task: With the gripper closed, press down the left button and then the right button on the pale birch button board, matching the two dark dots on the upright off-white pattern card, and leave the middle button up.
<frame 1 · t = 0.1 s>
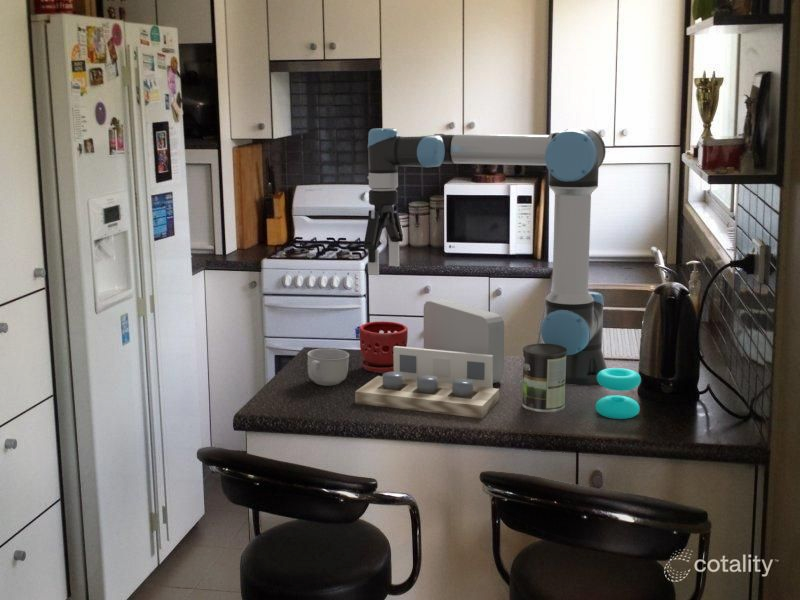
hand: (384, 270, 253), 28 cm above the worktop, fingers open, 13 cm apart
button 2: (462, 388, 230), point 5 cm above the worktop, slide at 0.0 cm
pattern card: (442, 389, 244), on the worktop
rounded white slab: (461, 373, 259), on the worktop
plant pot: (383, 369, 263), on the worktop
coffee can: (543, 406, 231), on the worktop
teacup: (325, 384, 250), on the worktop
button board: (427, 401, 234), on the worktop
donuts: (617, 414, 225), on the worktop
button centre: (427, 384, 233), point 5 cm above the worktop, slide at 0.0 cm
button 1: (392, 380, 237), point 4 cm above the worktop, slide at 0.0 cm
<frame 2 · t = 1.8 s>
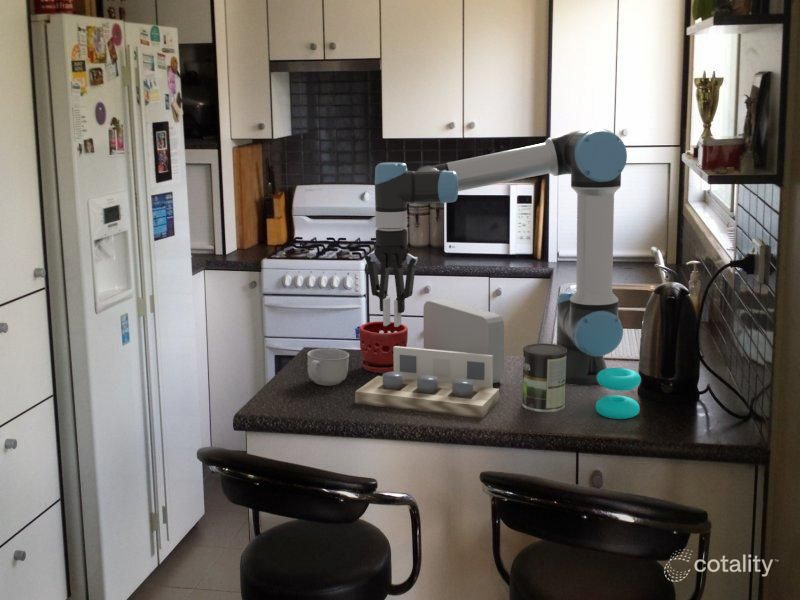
hand: (392, 324, 234), 18 cm above the worktop, fingers open, 2 cm apart
nothing on the worktop moved.
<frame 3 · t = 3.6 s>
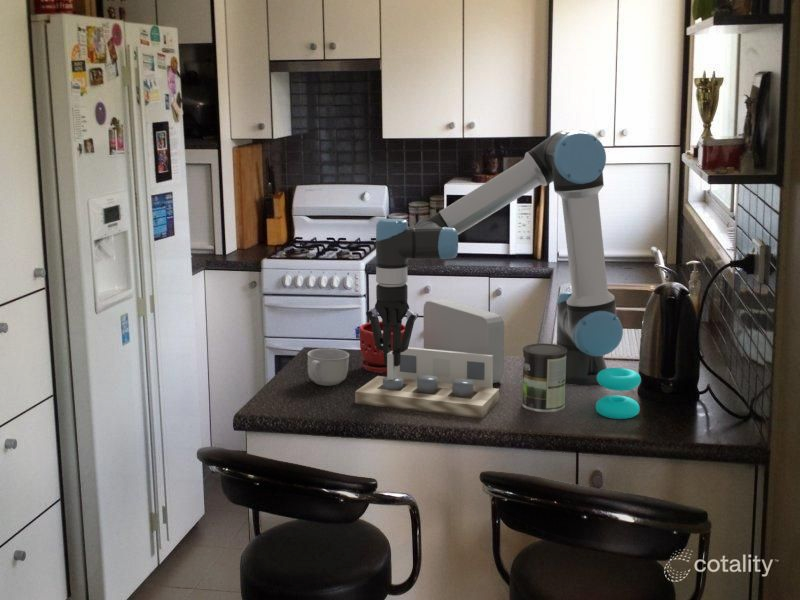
hand: (392, 378, 236), 5 cm above the worktop, fingers closed
button 1: (392, 385, 237), point 3 cm above the worktop, slide at 1.2 cm, touching gripper
everything else where it was.
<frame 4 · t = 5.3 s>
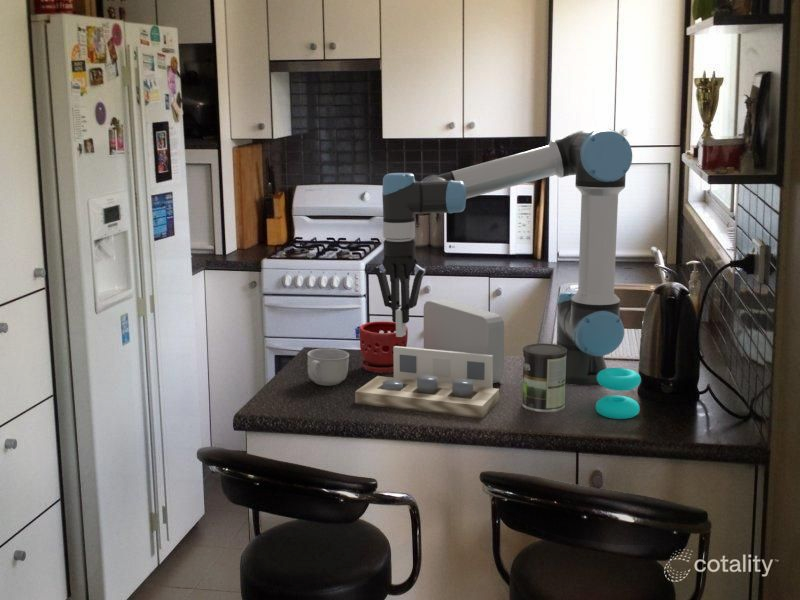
hand: (400, 335, 233), 16 cm above the worktop, fingers closed
button 1: (392, 388, 237), point 2 cm above the worktop, slide at 2.1 cm
everything else where it was.
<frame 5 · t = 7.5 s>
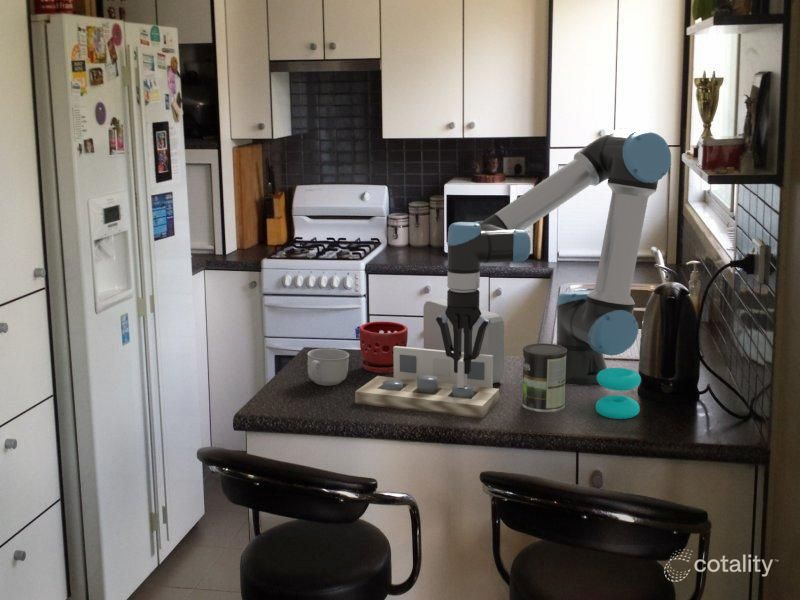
hand: (462, 386, 230), 5 cm above the worktop, fingers closed
button 2: (462, 393, 230), point 3 cm above the worktop, slide at 1.3 cm, touching gripper
everything else where it was.
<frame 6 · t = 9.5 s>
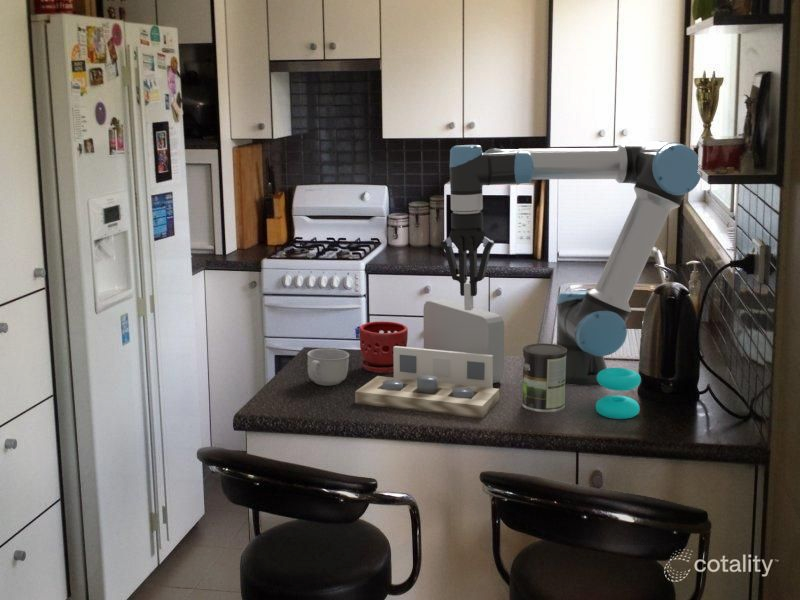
hand: (469, 308, 233), 22 cm above the worktop, fingers closed
button 2: (462, 396, 230), point 2 cm above the worktop, slide at 2.1 cm
everything else where it was.
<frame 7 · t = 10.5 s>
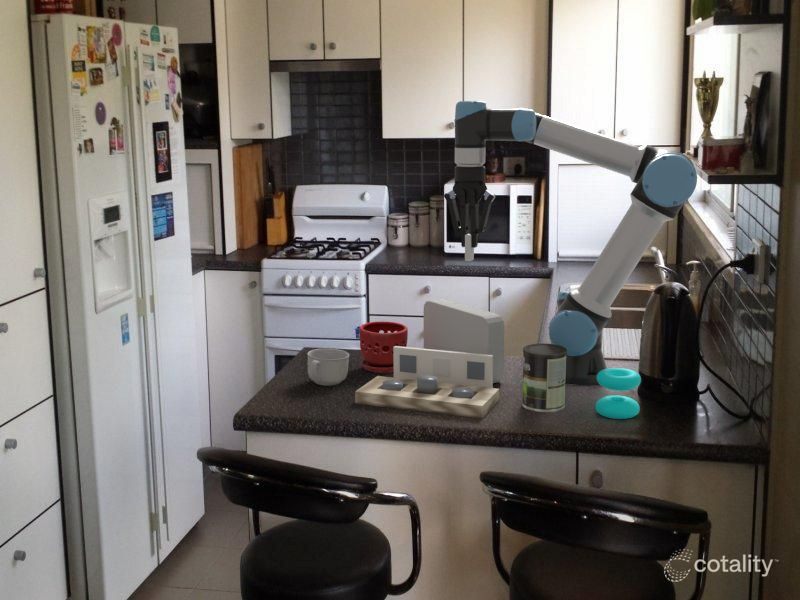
hand: (469, 260, 241), 32 cm above the worktop, fingers closed
nothing on the worktop moved.
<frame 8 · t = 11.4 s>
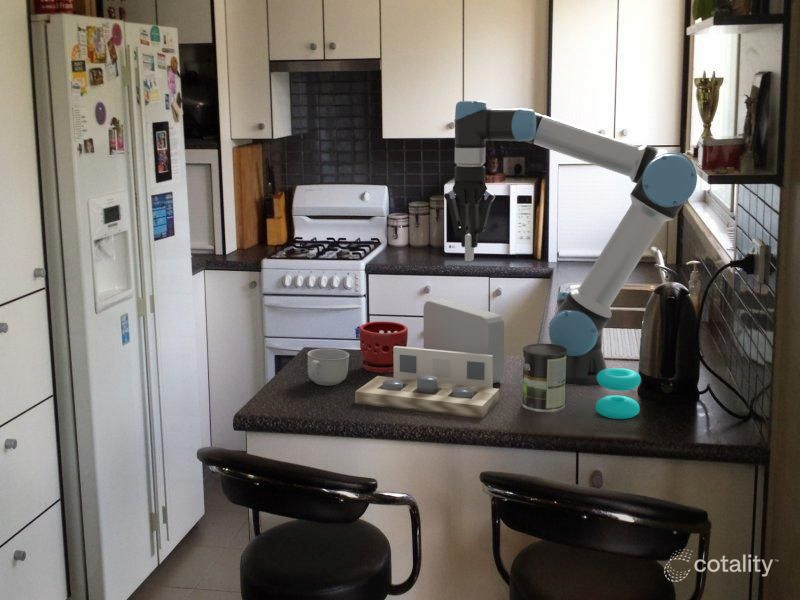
hand: (469, 260, 241), 32 cm above the worktop, fingers closed
nothing on the worktop moved.
at the end: button 1 slide at 2.1 cm; button 2 slide at 2.1 cm; button centre slide at 0.0 cm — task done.
